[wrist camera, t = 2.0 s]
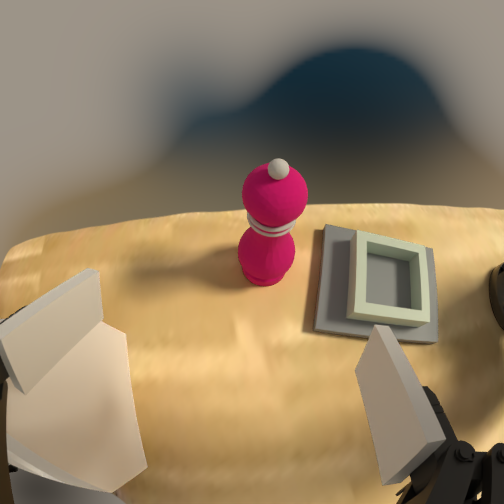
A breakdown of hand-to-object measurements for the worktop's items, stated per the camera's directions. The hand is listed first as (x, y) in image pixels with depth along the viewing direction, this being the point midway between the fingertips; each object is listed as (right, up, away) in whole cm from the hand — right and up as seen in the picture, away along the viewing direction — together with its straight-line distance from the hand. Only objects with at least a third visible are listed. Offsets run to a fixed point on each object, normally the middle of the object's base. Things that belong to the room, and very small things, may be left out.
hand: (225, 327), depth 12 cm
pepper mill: (+3, +1, +27) cm, 28 cm away
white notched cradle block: (-22, -18, +17) cm, 33 cm away
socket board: (+21, -2, +26) cm, 33 cm away
